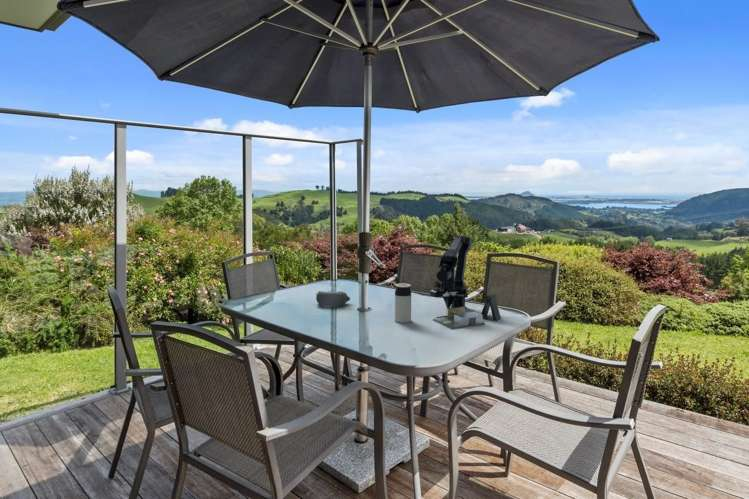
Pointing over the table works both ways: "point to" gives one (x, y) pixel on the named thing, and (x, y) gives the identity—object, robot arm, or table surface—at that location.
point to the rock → (332, 298)
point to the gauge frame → (461, 320)
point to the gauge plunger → (453, 312)
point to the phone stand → (494, 308)
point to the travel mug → (403, 303)
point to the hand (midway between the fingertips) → (448, 308)
